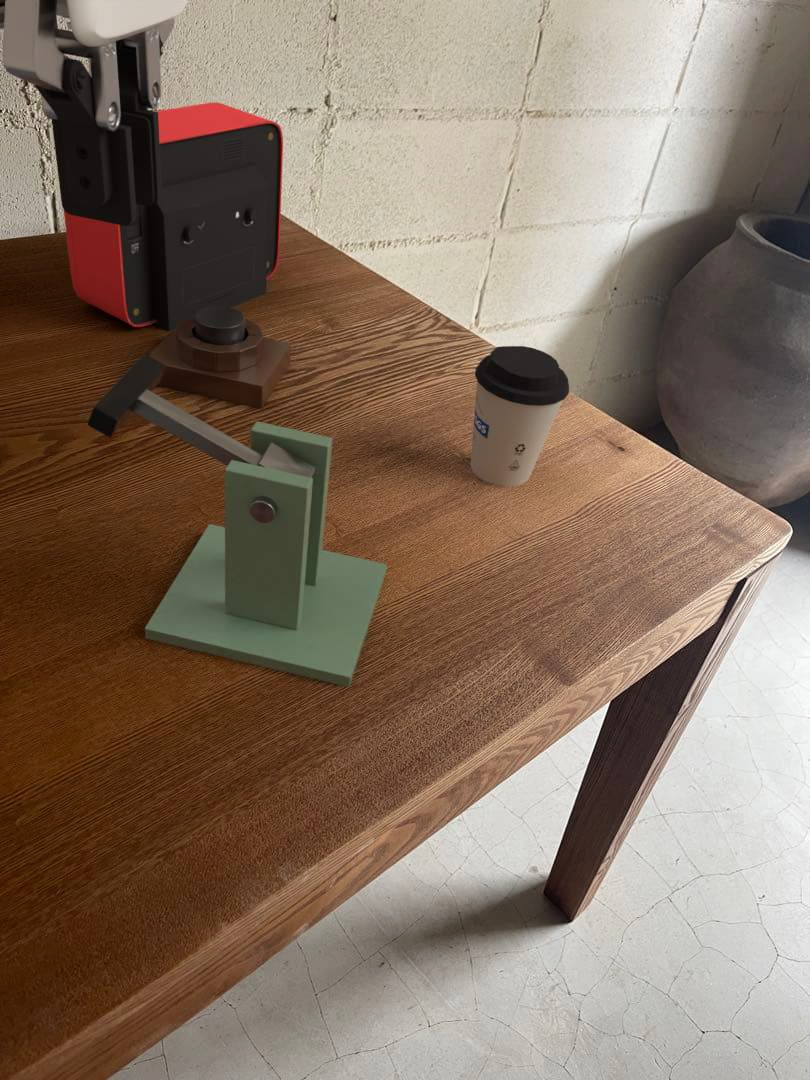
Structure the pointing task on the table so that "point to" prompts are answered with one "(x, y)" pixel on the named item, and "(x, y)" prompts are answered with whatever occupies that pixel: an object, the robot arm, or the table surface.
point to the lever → (180, 421)
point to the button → (220, 325)
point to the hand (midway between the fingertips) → (113, 205)
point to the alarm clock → (190, 223)
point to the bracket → (273, 573)
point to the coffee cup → (514, 412)
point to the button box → (223, 365)
